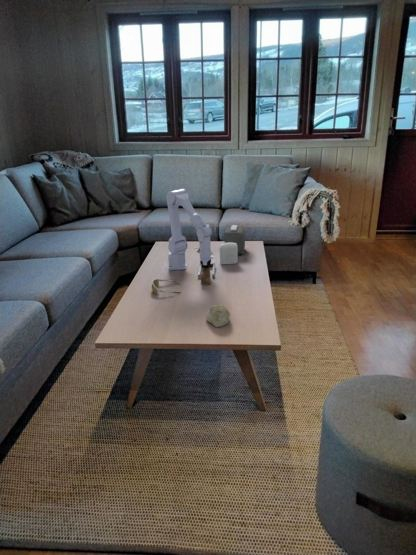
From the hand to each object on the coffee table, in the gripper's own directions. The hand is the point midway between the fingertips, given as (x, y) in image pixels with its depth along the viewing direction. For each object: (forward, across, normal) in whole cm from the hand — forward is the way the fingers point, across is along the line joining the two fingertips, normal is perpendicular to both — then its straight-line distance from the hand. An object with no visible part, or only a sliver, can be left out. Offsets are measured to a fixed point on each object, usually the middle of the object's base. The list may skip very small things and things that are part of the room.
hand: (206, 273), depth 219 cm
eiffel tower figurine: (+3, +41, +4) cm, 41 cm away
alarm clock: (+3, +40, -16) cm, 43 cm away
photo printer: (+3, +20, -12) cm, 24 cm away
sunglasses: (+3, -15, +19) cm, 24 cm away
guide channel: (+2, +7, 0) cm, 7 cm away
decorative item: (+3, -48, -8) cm, 49 cm away
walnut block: (+2, -6, 0) cm, 6 cm away
